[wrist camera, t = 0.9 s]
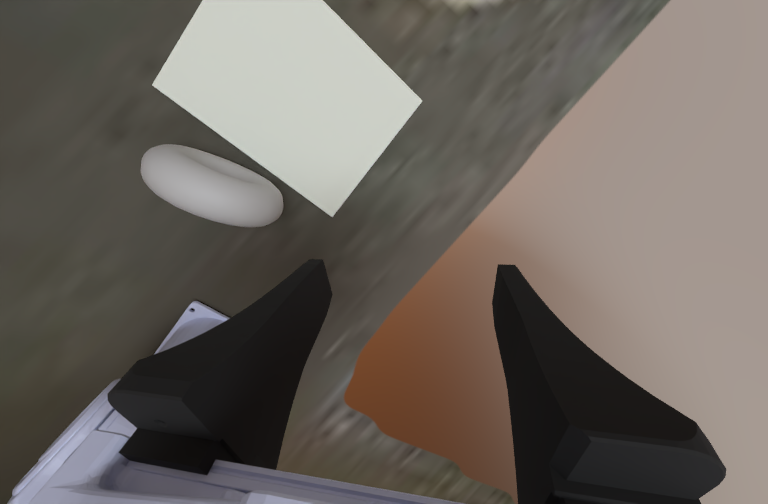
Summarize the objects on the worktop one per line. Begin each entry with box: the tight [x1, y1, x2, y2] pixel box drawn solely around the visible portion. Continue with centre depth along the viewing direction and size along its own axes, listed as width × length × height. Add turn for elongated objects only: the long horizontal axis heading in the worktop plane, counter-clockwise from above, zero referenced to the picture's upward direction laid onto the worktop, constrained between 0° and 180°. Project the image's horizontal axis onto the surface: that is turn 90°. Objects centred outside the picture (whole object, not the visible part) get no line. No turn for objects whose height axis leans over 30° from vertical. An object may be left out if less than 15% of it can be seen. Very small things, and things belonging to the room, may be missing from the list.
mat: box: [152, 0, 422, 217], centre depth 27 cm, size 14×18×1 cm
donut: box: [141, 144, 283, 227], centre depth 24 cm, size 10×4×10 cm, turn 63°
